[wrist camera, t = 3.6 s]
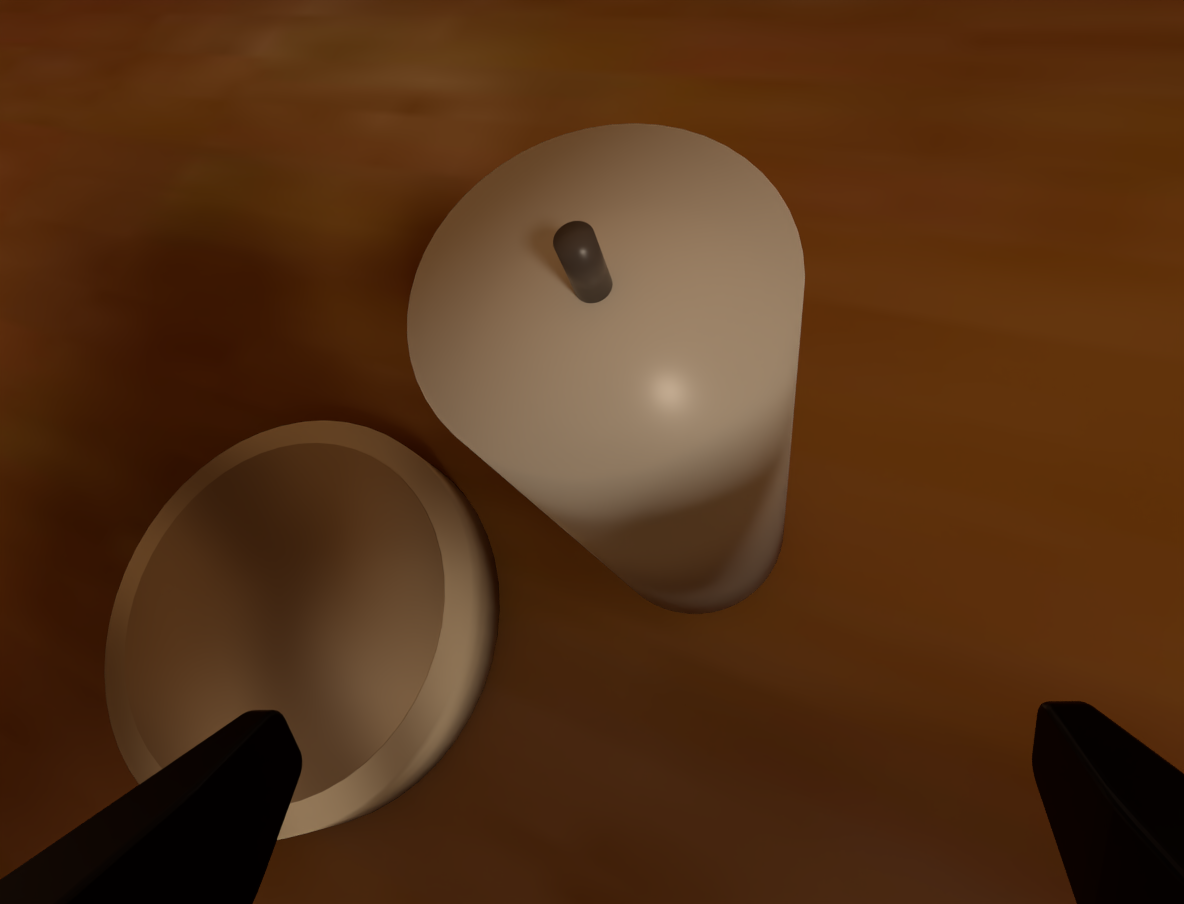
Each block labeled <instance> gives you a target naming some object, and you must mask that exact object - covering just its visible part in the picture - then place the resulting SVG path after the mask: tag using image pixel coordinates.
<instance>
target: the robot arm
mask: <svg viewBox="0 0 1184 904" xmlns="http://www.w3.org/2000/svg"><path fill="white" fill-rule="evenodd" d="M1032 766H1033V772H1034V777H1035V780H1036V784H1037V787H1038V790H1039V793H1040V796H1041V799H1042V802H1043V805H1044V808H1045V811H1046V813H1047V816H1048V819H1049V822H1050V825H1051V828H1052V831H1053V834H1054V837H1055V840H1056V843H1057V846H1058V849H1059V852H1060V855H1061V858H1062V861H1063V864H1064V867H1065V870H1066V873H1067V876H1068V879H1069V882H1070V885H1071V888H1072V891H1073V894H1074V897H1075V900H1076V903H1077V904H1184V773H1182V772H1181V771H1180V770H1178V769H1177V768H1175V767H1174V766H1173V765H1171V764H1170V763H1169V762H1167V761H1166V760H1165V759H1163V758H1162V757H1161V756H1159V755H1158V754H1157V753H1155V752H1154V751H1153V750H1151V749H1150V748H1148V747H1147V746H1146V745H1144V744H1143V743H1142V742H1140V741H1139V740H1138V739H1136V738H1135V737H1134V736H1132V735H1131V734H1130V733H1128V732H1127V731H1126V730H1124V729H1123V728H1121V727H1120V726H1119V725H1117V724H1116V723H1115V722H1113V721H1112V720H1111V719H1109V718H1108V717H1107V716H1105V715H1104V714H1103V713H1101V712H1100V711H1098V710H1097V709H1096V708H1094V707H1093V706H1091V705H1089V704H1087V703H1085V702H1081V701H1048V702H1044V703H1042V704H1041V705H1040V707H1039V709H1038V713H1037V720H1036V728H1035V737H1034V745H1033V753H1032ZM301 770H302V754H301V751H300V749H299V747H298V744H297V742H296V740H295V738H294V736H293V734H292V732H291V730H290V728H289V725H288V723H287V721H286V719H285V717H284V716H283V714H282V713H280V712H279V711H277V710H251V711H247V712H245V713H243V714H242V715H240V716H239V717H237V718H236V719H234V720H233V721H232V722H230V723H229V724H227V725H226V726H224V727H223V728H221V729H220V730H218V731H217V732H215V733H214V734H213V735H211V736H210V737H208V738H207V739H205V740H204V741H202V742H201V743H199V744H198V745H196V746H195V747H194V748H192V749H191V750H189V751H188V752H186V753H185V754H183V755H182V756H180V757H179V758H177V759H176V760H175V761H173V762H172V763H170V764H169V765H167V766H166V767H164V768H163V769H161V770H160V771H158V772H157V773H156V774H154V775H153V776H151V777H150V778H148V779H147V780H145V781H144V782H142V783H141V784H139V785H138V786H137V787H135V788H134V789H132V790H131V791H129V792H128V793H126V794H125V795H123V796H122V797H121V798H119V799H118V800H116V801H115V802H113V803H112V804H110V805H109V806H107V807H106V808H104V809H103V810H102V811H100V812H99V813H97V814H96V815H94V816H93V817H91V818H90V819H88V820H87V821H85V822H84V823H83V824H81V825H80V826H78V827H77V828H75V829H74V830H72V831H71V832H69V833H68V834H66V835H65V836H64V837H62V838H61V839H59V840H58V841H56V842H55V843H53V844H52V845H50V846H49V847H47V848H46V849H45V850H43V851H42V852H40V853H39V854H37V855H36V856H34V857H33V858H31V859H30V860H29V861H27V862H26V863H24V864H23V865H21V866H20V867H18V868H17V869H15V870H14V871H12V872H11V873H10V874H8V875H7V876H5V877H4V878H2V879H1V880H0V904H253V901H254V899H255V897H256V894H257V892H258V889H259V887H260V884H261V882H262V879H263V877H264V874H265V871H266V869H267V866H268V863H269V860H270V858H271V855H272V852H273V849H274V847H275V844H276V841H277V838H278V835H279V833H280V830H281V827H282V824H283V822H284V819H285V816H286V813H287V811H288V808H289V805H290V802H291V800H292V797H293V794H294V791H295V788H296V786H297V783H298V780H299V777H300V774H301Z"/></svg>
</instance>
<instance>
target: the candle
mask: <svg viewBox="0 0 1184 904" xmlns="http://www.w3.org/2000/svg"><path fill="white" fill-rule="evenodd" d="M804 283H805V272H804V258H803V251H802V247H801V242H800V238H799V234H798V230H797V228H796V225H795V223H794V220H793V218H792V216H791V213H790V211H789V209H788V207H787V205H786V204H785V202H784V201H783V199H782V197H781V196H780V194H779V193H778V191H777V189H776V188H775V187H774V186H773V185H772V184H771V183H770V181H769V180H768V179H767V178H766V177H765V176H764V174H763V173H762V172H761V171H760V170H758V169H757V168H756V167H755V166H754V165H753V164H751V163H750V162H749V161H748V160H747V159H746V158H744V157H743V156H741V155H739V154H738V153H736V152H735V151H733V150H732V149H730V148H728V147H727V146H725V145H723V144H721V143H719V142H716V141H714V140H712V139H710V138H708V137H706V136H703V135H700V134H696V133H693V132H690V131H687V130H683V129H679V128H673V127H668V126H662V125H651V124H613V125H606V126H599V127H593V128H587V129H583V130H579V131H575V132H571V133H568V134H564V135H561V136H559V137H556V138H553V139H550V140H548V141H545V142H542V143H540V144H538V145H536V146H534V147H532V148H530V149H528V150H526V151H524V152H522V153H520V154H518V155H517V156H515V157H513V158H512V159H510V160H508V161H507V162H505V163H503V164H502V165H500V166H499V167H498V168H496V169H495V170H494V171H492V172H491V173H490V174H488V175H487V176H486V177H484V178H483V179H482V180H481V181H480V182H478V183H477V184H476V185H475V186H474V187H473V188H472V189H471V190H470V191H469V192H468V193H466V194H465V195H464V196H463V198H462V199H461V200H460V201H459V202H458V203H457V204H456V206H455V207H454V208H453V209H452V210H451V211H450V212H449V214H448V215H447V216H446V218H445V219H444V221H443V222H442V223H441V225H440V226H439V228H438V229H437V231H436V232H435V234H434V236H433V237H432V239H431V241H430V243H429V245H428V246H427V248H426V250H425V252H424V254H423V257H422V259H421V262H420V264H419V267H418V269H417V271H416V275H415V278H414V282H413V286H412V289H411V293H410V299H409V306H408V314H407V339H408V347H409V354H410V360H411V363H412V367H413V370H414V373H415V377H416V380H417V382H418V384H419V386H420V388H421V391H422V393H423V395H424V397H425V399H426V401H427V402H428V404H429V405H430V407H431V408H432V410H433V411H434V413H435V414H436V416H437V417H438V418H439V419H440V421H441V422H442V423H443V424H444V425H445V426H446V427H447V428H448V429H449V430H450V431H451V432H452V433H453V435H454V436H456V437H457V438H458V439H459V440H460V441H461V442H463V443H464V444H465V445H466V446H467V447H468V448H470V449H471V450H472V451H473V452H474V453H475V454H477V455H478V456H479V457H480V458H481V459H482V460H484V461H485V462H486V463H487V464H488V465H489V466H491V467H492V468H493V469H494V470H495V471H496V472H497V473H499V474H500V475H501V476H502V477H503V478H504V479H506V480H507V481H508V482H509V483H510V484H511V485H513V486H514V487H515V488H516V489H517V490H518V491H520V492H521V493H522V494H523V495H524V496H525V497H527V498H528V499H529V500H530V501H531V502H532V503H533V504H535V505H536V506H537V507H538V508H539V509H540V510H542V511H543V512H544V513H545V514H546V515H547V516H549V517H550V518H551V519H552V520H553V521H554V522H556V523H557V524H558V525H559V526H560V527H561V528H563V529H564V530H565V531H566V532H567V533H568V534H569V535H571V536H572V537H573V538H574V539H575V540H576V541H578V542H579V543H580V544H581V545H582V546H583V547H585V548H586V549H587V550H588V551H589V552H590V553H592V554H593V555H594V556H595V557H596V558H597V559H599V560H600V561H601V562H602V563H603V564H604V565H605V566H607V567H608V568H609V569H610V570H611V571H612V572H614V573H615V574H616V575H617V576H618V577H619V578H621V579H622V580H623V581H624V582H625V583H626V584H628V585H629V586H630V587H631V588H632V589H633V590H635V591H636V592H637V593H638V594H639V595H641V596H642V597H643V598H645V599H646V600H648V601H650V602H651V603H653V604H655V605H657V606H660V607H662V608H664V609H667V610H671V611H674V612H680V613H687V614H703V613H711V612H715V611H719V610H723V609H726V608H728V607H731V606H733V605H735V604H737V603H739V602H740V601H742V600H744V599H746V598H747V597H748V596H749V595H751V594H752V593H753V592H755V591H756V590H757V589H758V588H759V587H760V586H761V585H762V584H763V582H764V581H765V580H766V578H767V577H768V576H769V574H770V573H771V571H772V569H773V567H774V566H775V564H776V562H777V559H778V556H779V554H780V551H781V546H782V542H783V532H784V521H785V509H786V497H787V485H788V473H789V461H790V449H791V437H792V426H793V414H794V402H795V390H796V378H797V366H798V354H799V342H800V331H801V319H802V307H803V295H804Z"/></svg>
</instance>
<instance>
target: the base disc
mask: <svg viewBox="0 0 1184 904" xmlns="http://www.w3.org/2000/svg"><path fill="white" fill-rule="evenodd" d="M499 611H500V605H499V582H498V577H497V571H496V565H495V559H494V555H493V552H492V549H491V546H490V543H489V539H488V536H487V534H486V532H485V530H484V527H483V525H482V523H481V521H480V519H479V517H478V515H477V513H476V512H475V510H474V509H473V507H472V506H471V504H470V503H469V501H468V499H467V498H466V497H465V495H464V494H463V493H462V492H461V491H460V490H459V489H458V488H457V486H456V485H455V484H454V483H453V482H452V481H451V480H450V479H449V478H447V477H446V476H445V475H444V474H443V473H441V472H440V471H439V470H438V469H437V468H435V467H434V466H432V465H431V464H430V463H428V462H427V461H425V460H424V459H423V458H421V457H420V456H418V455H417V454H416V453H414V452H413V451H411V450H410V449H409V448H407V447H406V446H404V445H403V444H401V443H399V442H398V441H396V440H394V439H393V438H391V437H389V436H388V435H386V434H383V433H381V432H378V431H376V430H373V429H371V428H368V427H365V426H361V425H356V424H352V423H348V422H338V421H326V420H323V421H306V422H299V423H294V424H289V425H283V426H280V427H277V428H273V429H270V430H267V431H264V432H261V433H259V434H257V435H254V436H252V437H250V438H248V439H246V440H243V441H241V442H239V443H238V444H236V445H234V446H233V447H231V448H229V449H228V450H226V451H224V452H223V453H221V454H219V455H218V456H217V457H215V458H214V459H213V460H211V461H210V462H209V463H207V464H206V465H205V466H203V467H202V468H201V469H199V470H198V471H197V472H196V473H195V474H194V475H193V476H192V477H191V478H190V479H189V480H187V481H186V482H185V483H184V484H183V485H182V486H181V487H180V488H179V489H178V491H177V492H176V493H175V494H174V495H173V496H172V497H171V498H170V500H169V501H168V502H167V503H166V504H165V505H164V507H163V508H162V509H161V511H160V512H159V513H158V515H157V516H156V518H155V519H154V520H153V522H152V523H151V524H150V526H149V527H148V529H147V531H146V532H145V534H144V536H143V538H142V539H141V541H140V543H139V544H138V546H137V548H136V550H135V552H134V554H133V556H132V558H131V560H130V562H129V564H128V566H127V569H126V571H125V573H124V576H123V579H122V581H121V584H120V587H119V590H118V592H117V595H116V598H115V602H114V606H113V610H112V614H111V618H110V622H109V628H108V635H107V641H106V649H105V671H104V675H105V690H106V702H107V707H108V712H109V717H110V723H111V726H112V730H113V733H114V736H115V739H116V742H117V745H118V748H119V750H120V752H121V754H122V756H123V758H124V760H125V762H126V764H127V766H128V768H129V770H130V772H131V773H132V775H133V776H134V778H135V779H136V780H137V782H138V783H139V784H141V783H142V782H144V781H145V780H147V779H148V778H150V777H151V776H153V775H154V774H156V773H157V772H158V771H160V770H161V769H163V768H164V767H166V766H167V765H169V764H170V763H172V762H173V761H175V760H176V759H177V758H179V757H180V756H182V755H183V754H185V753H186V752H188V751H189V750H191V749H192V748H194V747H195V746H196V745H198V744H199V743H201V742H202V741H204V740H205V739H207V738H208V737H210V736H211V735H213V734H214V733H215V732H217V731H218V730H220V729H221V728H223V727H224V726H226V725H227V724H229V723H230V722H232V721H233V720H234V719H236V718H237V717H239V716H240V715H242V714H243V713H245V712H247V711H251V710H277V711H279V712H280V713H282V714H283V716H284V717H285V719H286V721H287V723H288V725H289V728H290V730H291V732H292V734H293V736H294V738H295V740H296V742H297V744H298V747H299V749H300V751H301V754H302V770H301V774H300V777H299V780H298V783H297V786H296V788H295V791H294V794H293V797H292V800H291V802H290V805H289V808H288V811H287V813H286V816H285V819H284V822H283V824H282V827H281V830H280V833H279V835H278V838H277V840H280V839H284V838H288V837H292V836H297V835H301V834H305V833H309V832H312V831H316V830H320V829H323V828H327V827H330V826H334V825H338V824H341V823H345V822H349V821H352V820H354V819H357V818H359V817H362V816H364V815H367V814H369V813H372V812H374V811H376V810H378V809H379V808H381V807H383V806H385V805H386V804H388V803H390V802H391V801H393V800H395V799H397V798H398V797H399V796H401V795H402V794H403V793H405V792H406V791H407V790H409V789H410V788H411V787H412V786H414V785H415V784H416V783H418V782H419V781H420V780H421V779H422V778H423V777H424V776H425V775H426V774H427V773H428V772H429V771H430V770H431V769H432V768H433V767H434V766H435V765H436V764H437V763H438V762H439V761H440V760H441V758H442V757H443V756H444V755H445V753H446V752H447V751H448V750H449V748H450V747H451V746H452V744H453V743H454V742H455V741H456V739H457V738H458V736H459V735H460V733H461V731H462V730H463V728H464V726H465V725H466V723H467V721H468V720H469V718H470V716H471V715H472V713H473V711H474V708H475V706H476V704H477V702H478V700H479V697H480V695H481V693H482V691H483V689H484V686H485V683H486V679H487V676H488V673H489V670H490V667H491V664H492V660H493V655H494V650H495V645H496V640H497V635H498V623H499Z"/></svg>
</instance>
